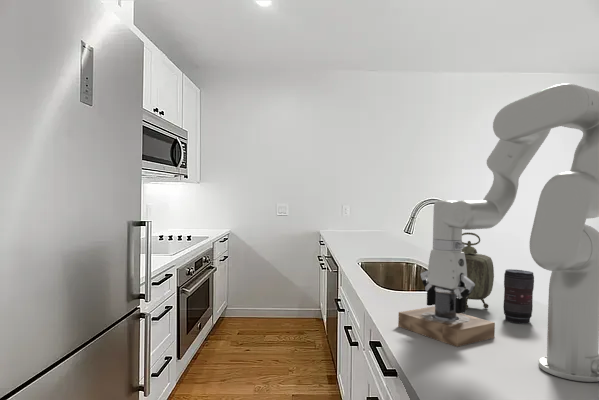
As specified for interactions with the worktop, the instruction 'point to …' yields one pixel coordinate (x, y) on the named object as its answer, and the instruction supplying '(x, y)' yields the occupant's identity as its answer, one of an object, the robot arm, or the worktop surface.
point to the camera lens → (518, 295)
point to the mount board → (447, 326)
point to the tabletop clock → (478, 272)
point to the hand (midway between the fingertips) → (445, 308)
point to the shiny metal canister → (445, 304)
